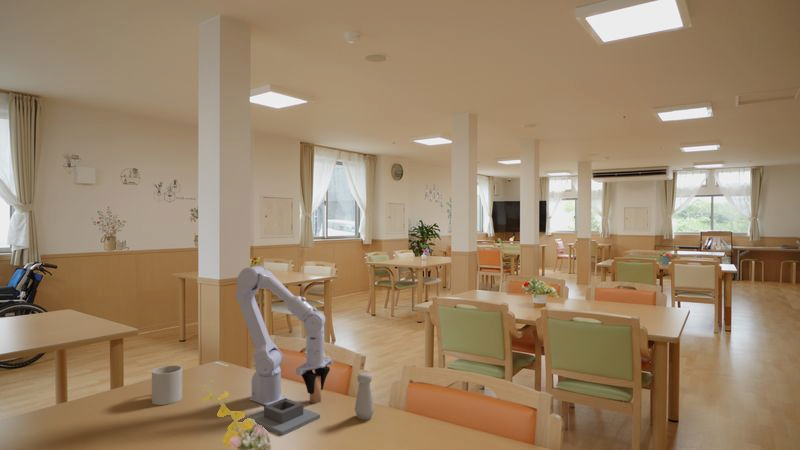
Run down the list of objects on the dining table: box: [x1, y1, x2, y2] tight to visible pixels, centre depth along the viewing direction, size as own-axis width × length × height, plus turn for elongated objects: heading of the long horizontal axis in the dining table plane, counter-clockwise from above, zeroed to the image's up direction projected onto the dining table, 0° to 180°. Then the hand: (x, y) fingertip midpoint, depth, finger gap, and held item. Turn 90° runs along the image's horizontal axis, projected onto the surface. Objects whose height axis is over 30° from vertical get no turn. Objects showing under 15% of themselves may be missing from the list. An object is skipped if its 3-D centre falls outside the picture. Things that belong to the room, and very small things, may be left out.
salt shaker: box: [354, 371, 375, 421], centre depth 135 cm, size 6×6×13 cm
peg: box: [309, 375, 322, 404], centre depth 147 cm, size 4×4×8 cm
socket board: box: [246, 398, 321, 436], centre depth 134 cm, size 16×14×4 cm
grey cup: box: [151, 364, 183, 406], centre depth 150 cm, size 11×10×10 cm
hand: (315, 391), depth 147 cm, fingers closed on peg, 3 cm apart
